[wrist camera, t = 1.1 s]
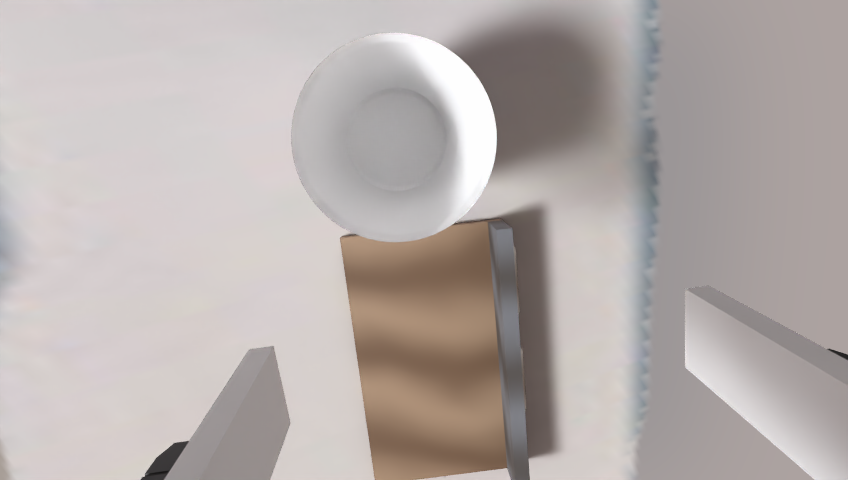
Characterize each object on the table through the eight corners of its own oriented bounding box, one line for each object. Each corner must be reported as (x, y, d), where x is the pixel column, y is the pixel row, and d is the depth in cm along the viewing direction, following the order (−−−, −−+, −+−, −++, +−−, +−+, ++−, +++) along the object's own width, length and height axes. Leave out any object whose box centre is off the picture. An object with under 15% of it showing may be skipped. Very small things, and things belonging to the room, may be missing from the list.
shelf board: (341, 236, 34) (334, 248, 30) (503, 218, 34) (515, 227, 30) (376, 479, 38) (373, 514, 34) (521, 460, 38) (533, 494, 34)
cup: (432, 45, 31) (453, -10, 20) (484, 176, 33) (531, 197, 22) (303, 102, 32) (248, 81, 20) (362, 229, 34) (342, 277, 22)
